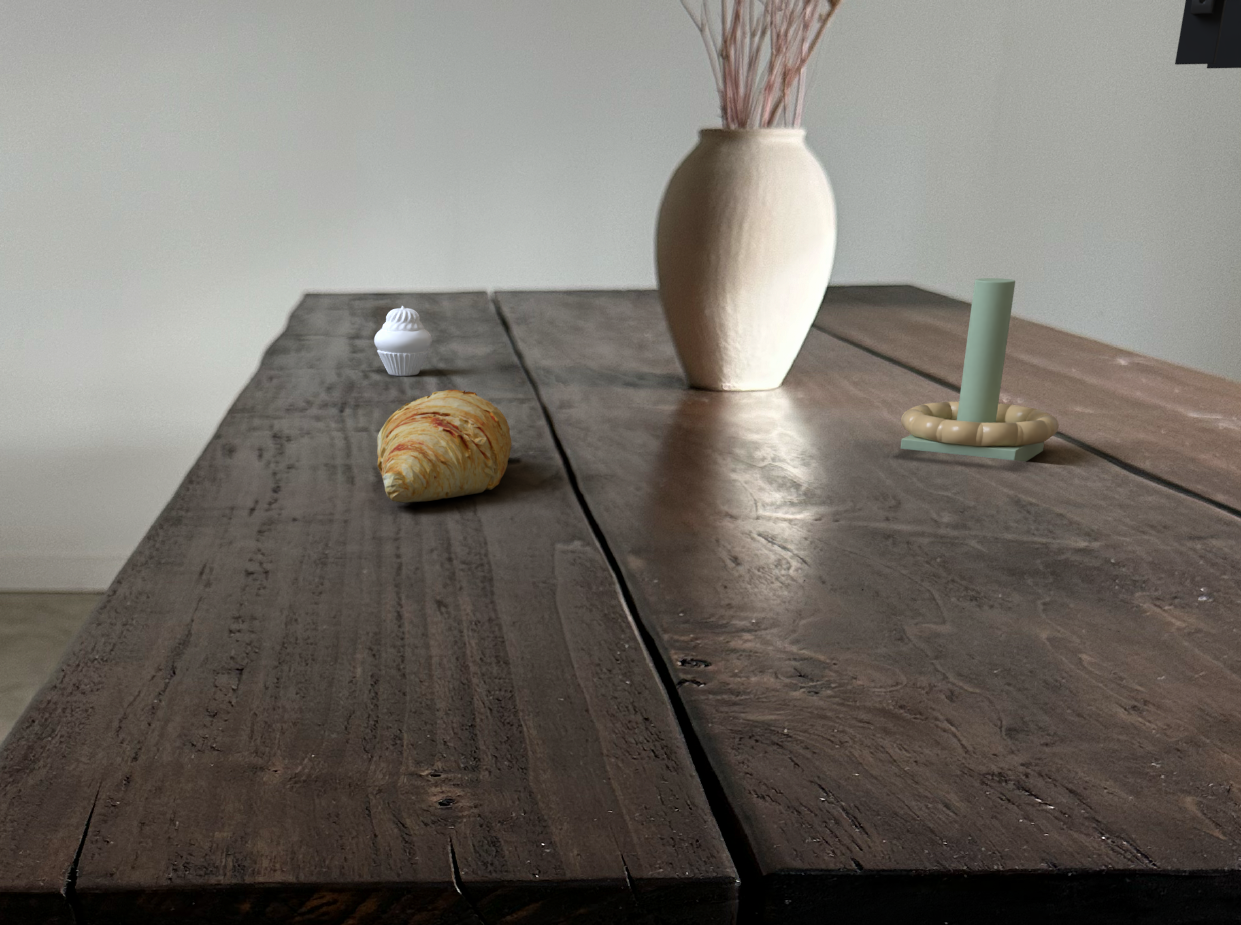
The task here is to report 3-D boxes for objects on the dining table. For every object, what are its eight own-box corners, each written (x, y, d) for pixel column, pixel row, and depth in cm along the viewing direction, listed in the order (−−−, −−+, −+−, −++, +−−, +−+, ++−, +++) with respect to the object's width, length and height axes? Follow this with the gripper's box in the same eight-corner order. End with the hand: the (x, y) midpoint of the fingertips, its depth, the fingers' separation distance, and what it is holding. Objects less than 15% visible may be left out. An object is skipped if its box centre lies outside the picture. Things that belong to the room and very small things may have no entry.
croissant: (435, 564, 111) (487, 466, 107) (313, 489, 112) (361, 388, 108) (515, 495, 129) (563, 409, 125) (411, 431, 130) (455, 343, 126)
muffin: (431, 378, 168) (431, 308, 166) (373, 378, 168) (372, 308, 166) (432, 369, 174) (432, 302, 171) (376, 369, 174) (375, 302, 171)
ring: (1068, 430, 131) (1072, 407, 131) (1035, 453, 122) (1039, 430, 121) (925, 417, 137) (928, 395, 136) (883, 439, 128) (885, 416, 127)
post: (1043, 451, 131) (1069, 278, 125) (1013, 469, 124) (1039, 287, 119) (933, 440, 135) (954, 272, 130) (899, 457, 129) (919, 281, 123)
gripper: (1238, -220, 129) (1188, 70, 137) (1180, -278, 110) (1126, 63, 118) (1343, -230, 125) (1285, 68, 134) (1301, -292, 106) (1236, 61, 115)
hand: (1210, 66), depth 126 cm, fingers open, 13 cm apart
